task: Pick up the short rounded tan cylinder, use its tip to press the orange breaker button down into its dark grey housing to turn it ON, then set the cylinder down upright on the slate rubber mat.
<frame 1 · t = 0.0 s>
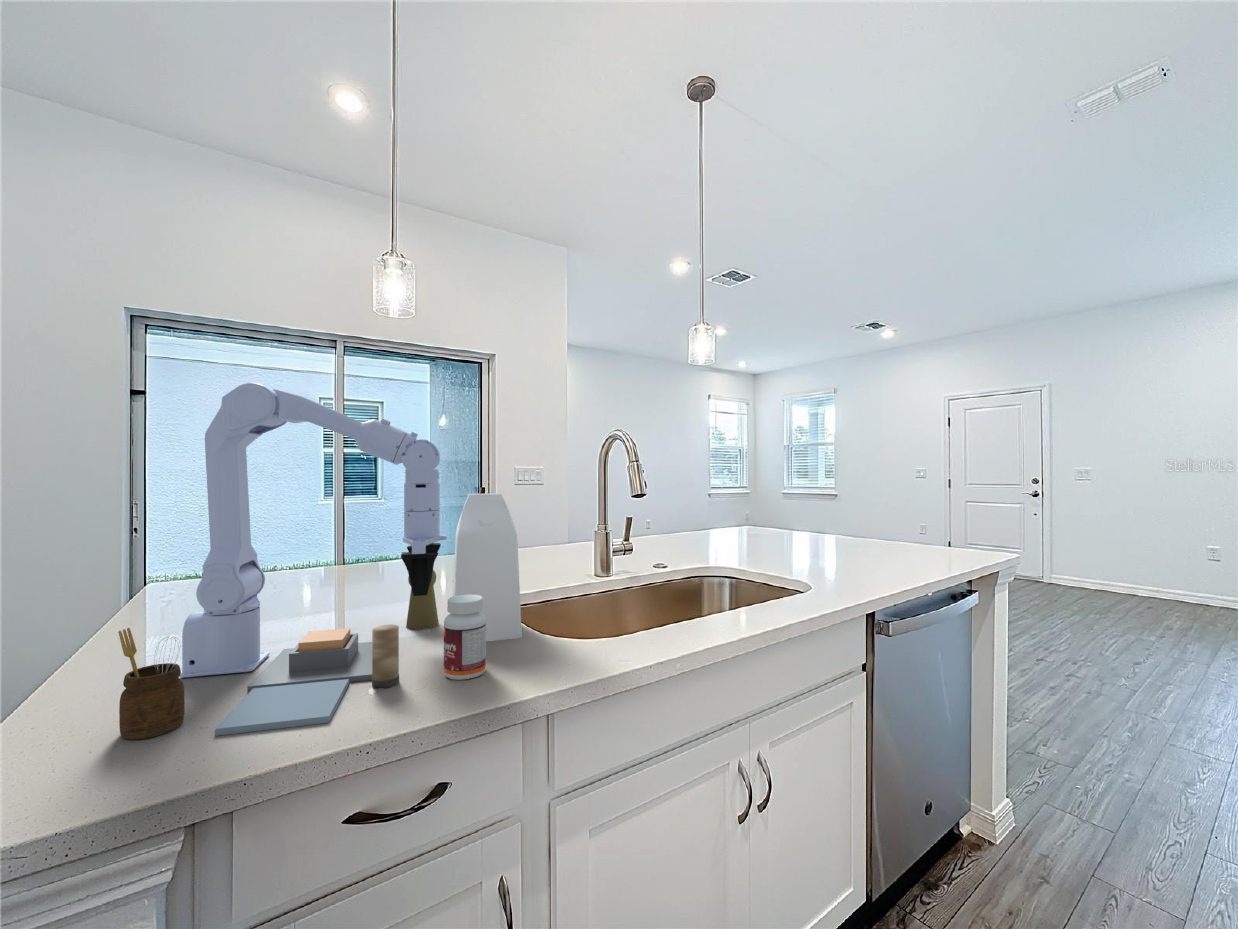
hand: (422, 590, 94), 10 cm above the worktop, tool pointing down, fingers open, 7 cm apart
cork: (422, 626, 108), on the worktop
breaker housing: (325, 666, 86), on the worktop
breaker button: (325, 641, 86), point 4 cm above the worktop, slide at 0.0 cm
rubber mat: (288, 707, 71), on the worktop
pill bottle: (465, 674, 83), on the worktop
milk: (485, 633, 104), on the worktop
rounded tan cylinder: (385, 683, 79), on the worktop
utensil holder: (151, 731, 66), on the worktop
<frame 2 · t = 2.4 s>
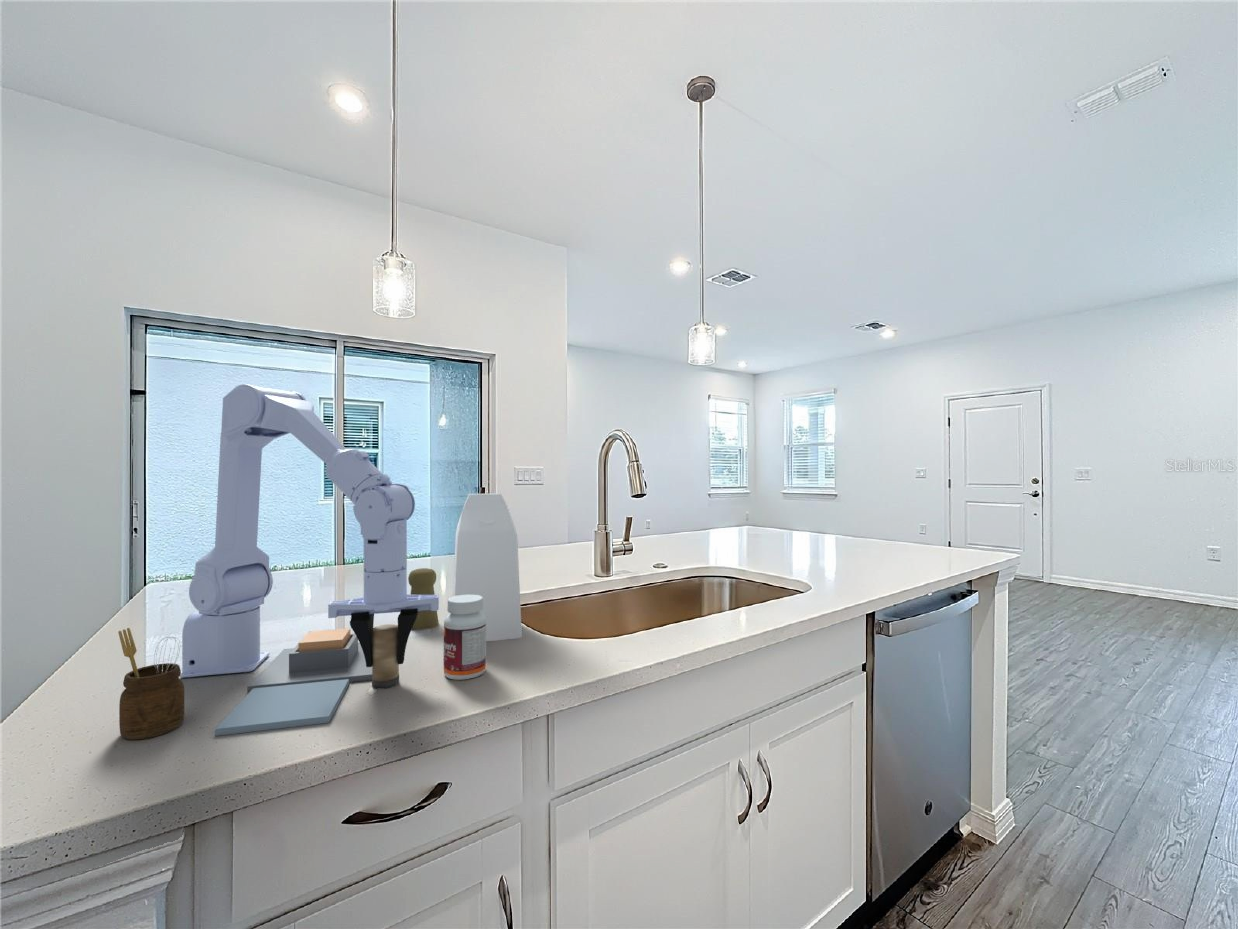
hand: (385, 663, 79), 3 cm above the worktop, tool pointing down, fingers closed on rounded tan cylinder, 3 cm apart
rounded tan cylinder: (385, 683, 79), on the worktop, touching gripper
everything else where it was.
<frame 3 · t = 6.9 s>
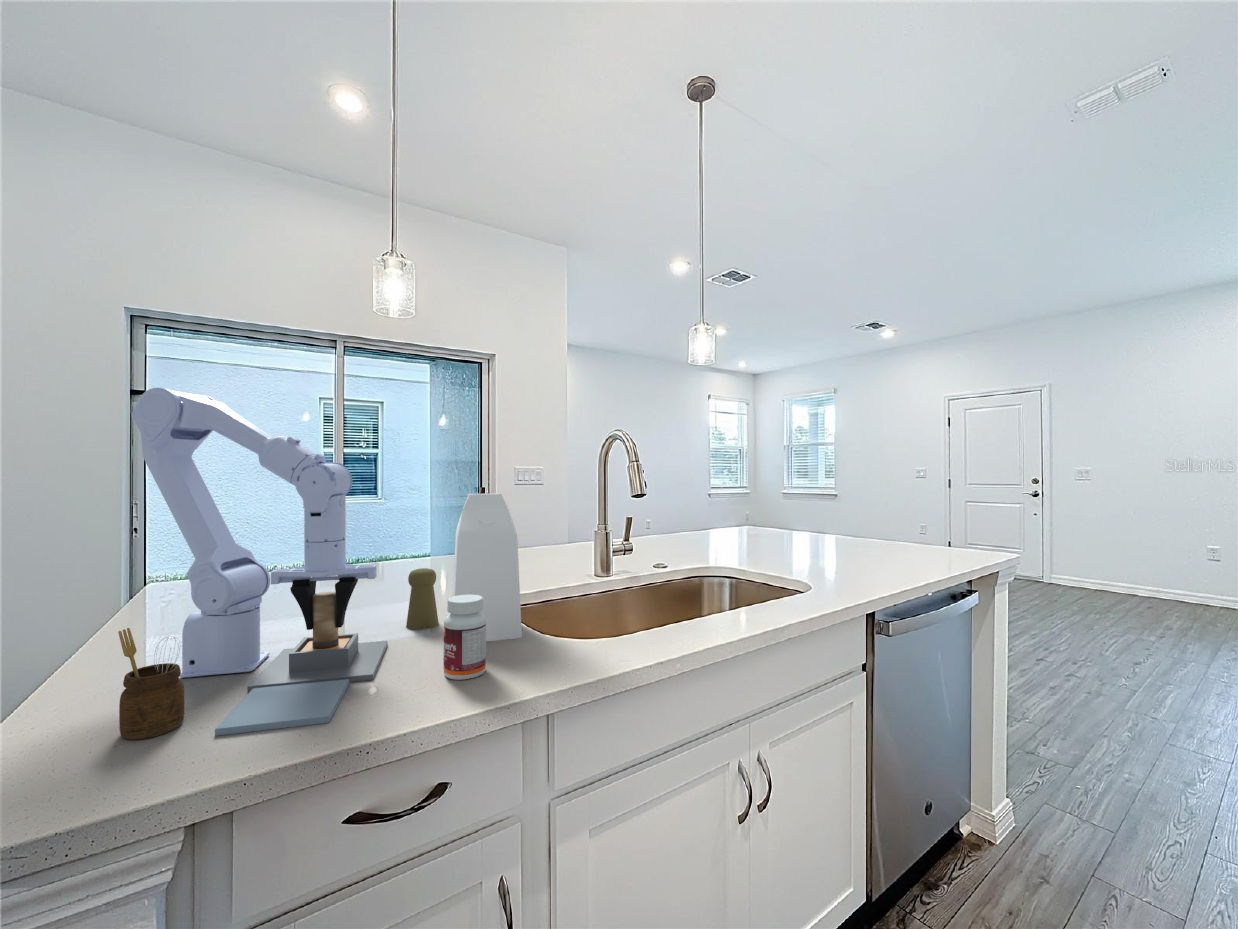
hand: (325, 627, 86), 6 cm above the worktop, tool pointing down, fingers closed on rounded tan cylinder, 3 cm apart
breaker button: (325, 651, 86), point 2 cm above the worktop, slide at 1.6 cm, touching rounded tan cylinder
rounded tan cylinder: (325, 645, 86), point 3 cm above the worktop, touching breaker button, gripper
everything else where it was.
when the fingers open (5 cm above the worktop, at t = 11.0 s): rounded tan cylinder drops 1 cm, resting on rubber mat.
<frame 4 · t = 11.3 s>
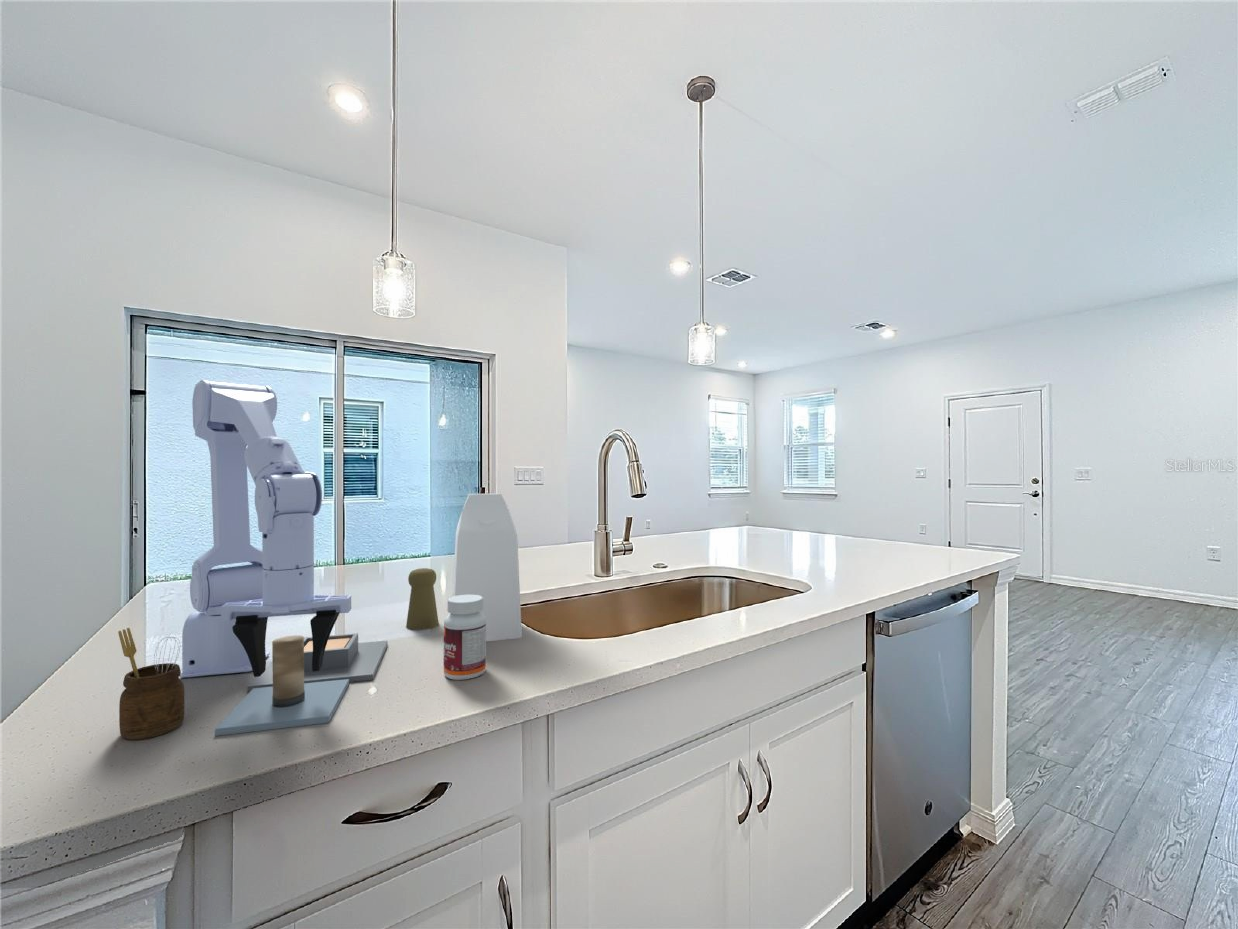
hand: (288, 671, 71), 5 cm above the worktop, tool pointing down, fingers open, 6 cm apart
breaker button: (325, 651, 86), point 2 cm above the worktop, slide at 1.6 cm
rounded tan cylinder: (288, 701, 71), point 1 cm above the worktop, touching rubber mat
everything else where it was.
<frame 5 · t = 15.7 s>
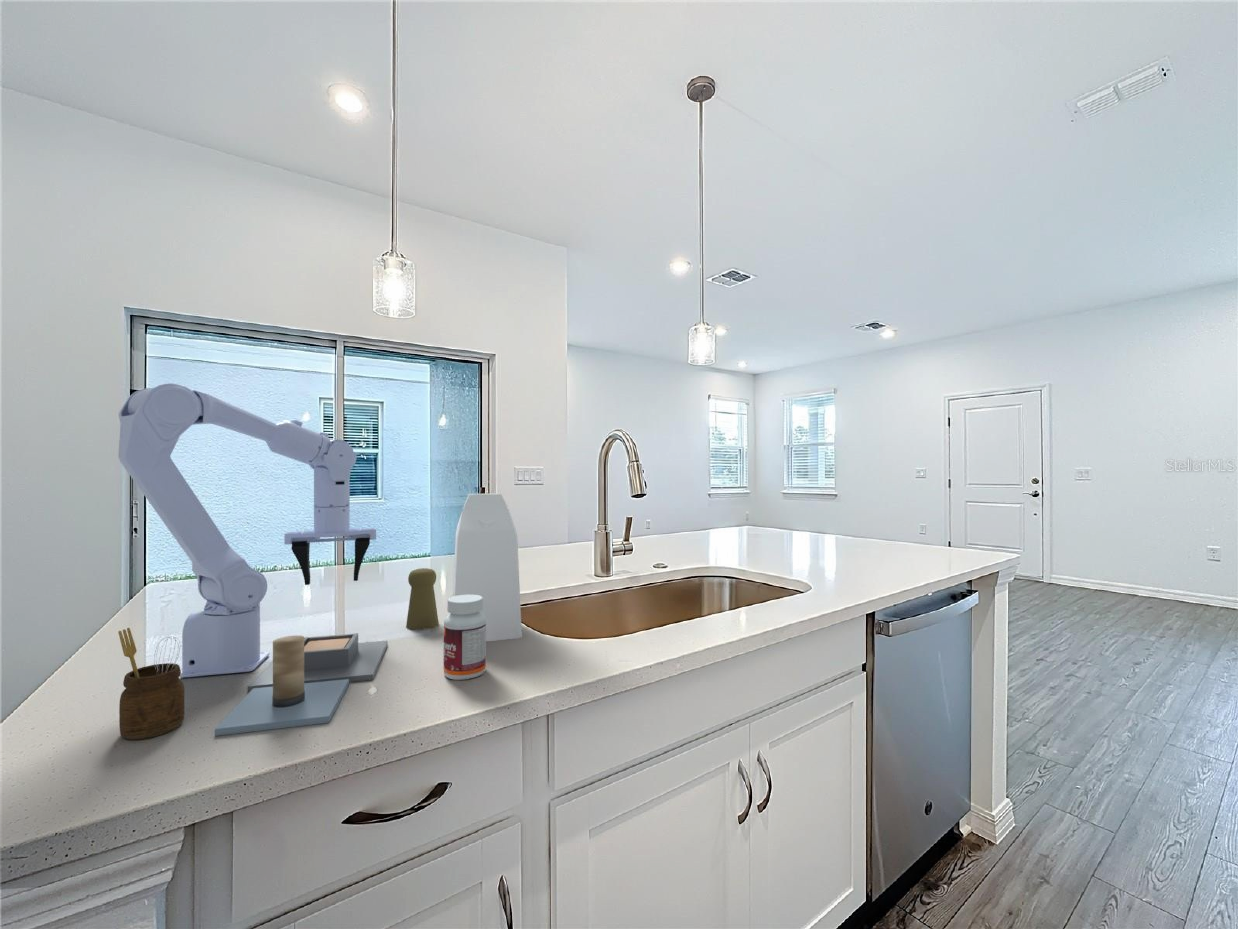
hand: (332, 581, 99), 10 cm above the worktop, tool pointing down, fingers open, 7 cm apart
nothing on the worktop moved.
at the end: breaker button slide at 1.6 cm; rounded tan cylinder inside the target area on the rubber mat (0.0 cm from its centre), point 0.8 cm above the rubber mat's base; rounded tan cylinder tilted 0° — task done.
